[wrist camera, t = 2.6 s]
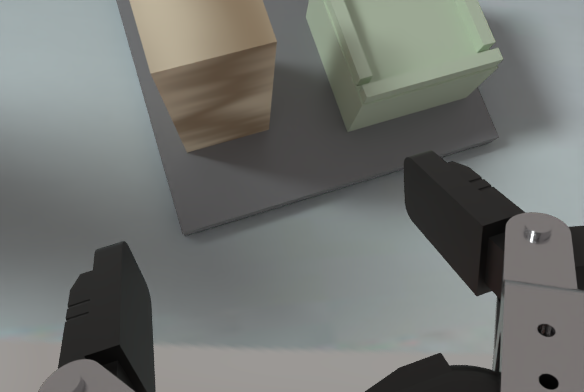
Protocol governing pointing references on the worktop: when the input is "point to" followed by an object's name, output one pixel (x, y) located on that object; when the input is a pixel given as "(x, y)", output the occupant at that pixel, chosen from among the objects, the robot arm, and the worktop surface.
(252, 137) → the grey flat plate
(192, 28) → the birch pillar
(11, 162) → the worktop surface
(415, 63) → the green plinth
